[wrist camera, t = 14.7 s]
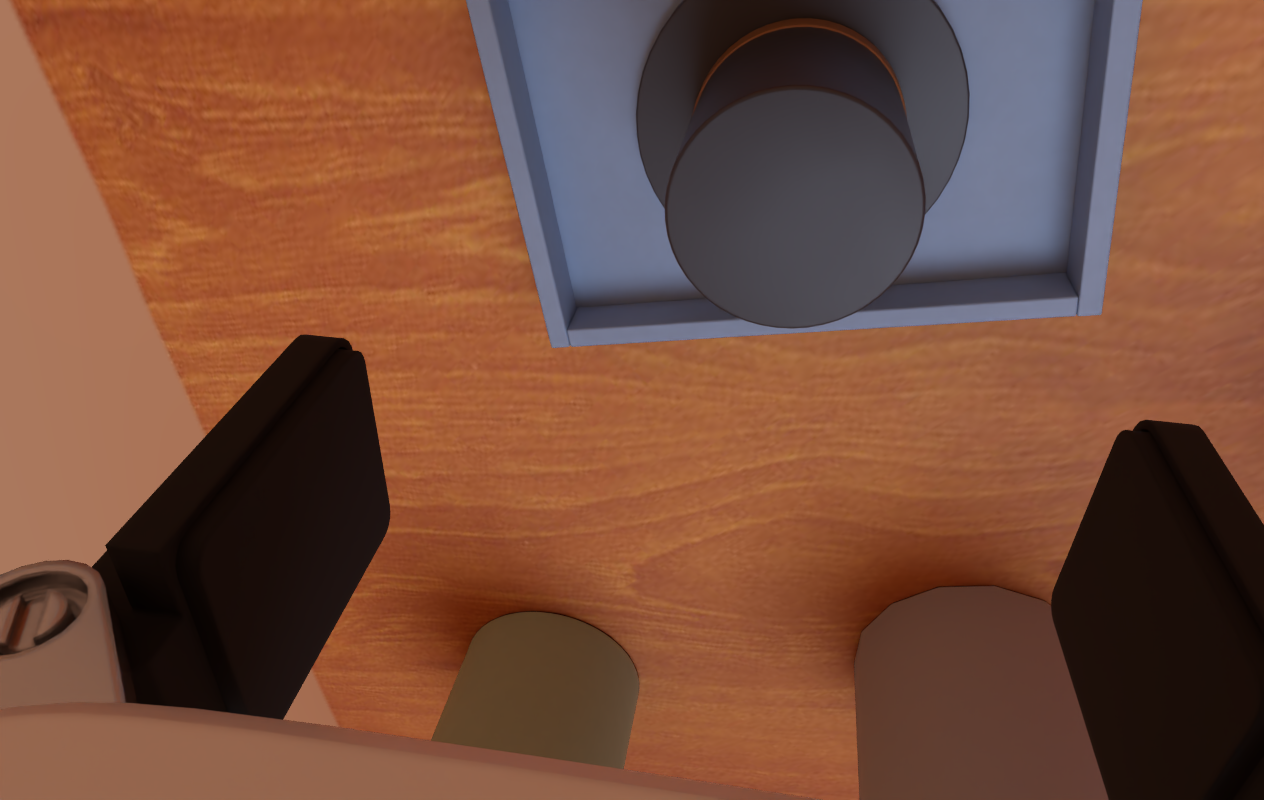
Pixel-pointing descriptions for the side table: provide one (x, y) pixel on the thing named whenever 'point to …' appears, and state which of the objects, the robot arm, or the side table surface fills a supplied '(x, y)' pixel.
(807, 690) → the side table surface
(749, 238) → the hat
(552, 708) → the pedestal
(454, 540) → the side table surface
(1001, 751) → the cup
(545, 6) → the tray
